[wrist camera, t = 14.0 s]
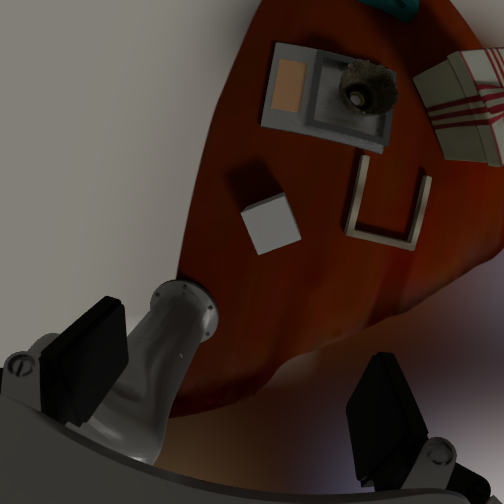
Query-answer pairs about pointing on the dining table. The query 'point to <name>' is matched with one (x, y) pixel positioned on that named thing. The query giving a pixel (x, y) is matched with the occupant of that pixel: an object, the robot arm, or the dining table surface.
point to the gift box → (467, 104)
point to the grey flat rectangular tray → (319, 100)
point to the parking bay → (379, 238)
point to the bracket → (396, 7)
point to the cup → (368, 88)
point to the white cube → (271, 223)
